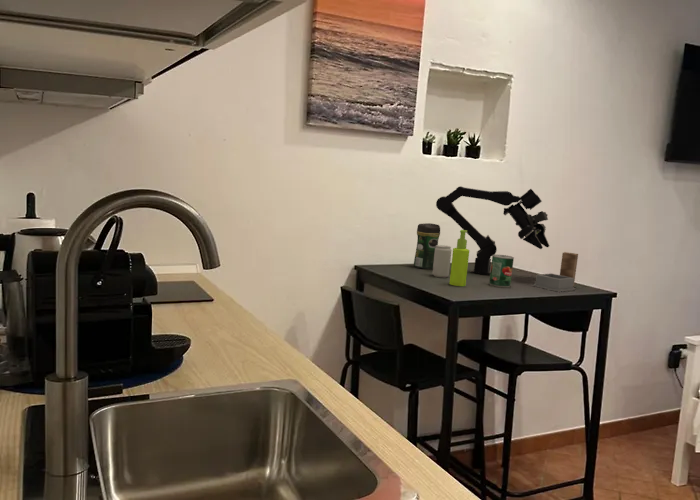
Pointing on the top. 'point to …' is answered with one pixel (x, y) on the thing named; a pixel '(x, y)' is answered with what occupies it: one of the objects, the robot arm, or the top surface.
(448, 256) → the beverage can
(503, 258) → the canned tomato
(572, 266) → the brown wooden block
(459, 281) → the soap dispenser
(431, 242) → the coffee jar
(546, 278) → the grey square tray
